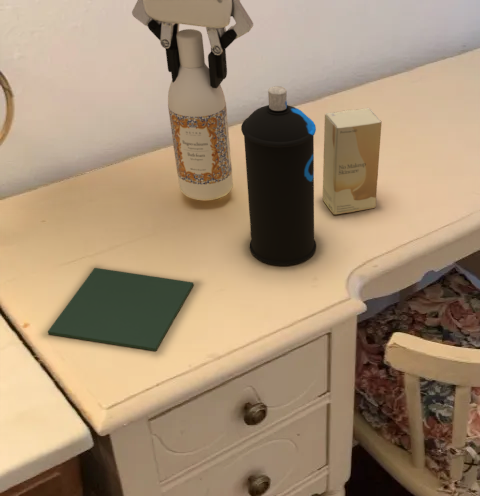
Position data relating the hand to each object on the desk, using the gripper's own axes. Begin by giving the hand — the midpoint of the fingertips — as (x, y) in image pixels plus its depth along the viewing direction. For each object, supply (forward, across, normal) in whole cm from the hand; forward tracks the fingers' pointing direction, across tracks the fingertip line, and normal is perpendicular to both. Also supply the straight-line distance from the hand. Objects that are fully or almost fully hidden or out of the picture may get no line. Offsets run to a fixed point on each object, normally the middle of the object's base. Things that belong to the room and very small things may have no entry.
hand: (198, 79), depth 100 cm
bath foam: (+15, 0, 0) cm, 15 cm away
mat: (+16, +2, +25) cm, 30 cm away
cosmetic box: (+16, -18, -3) cm, 24 cm away
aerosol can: (+16, -12, +9) cm, 22 cm away
